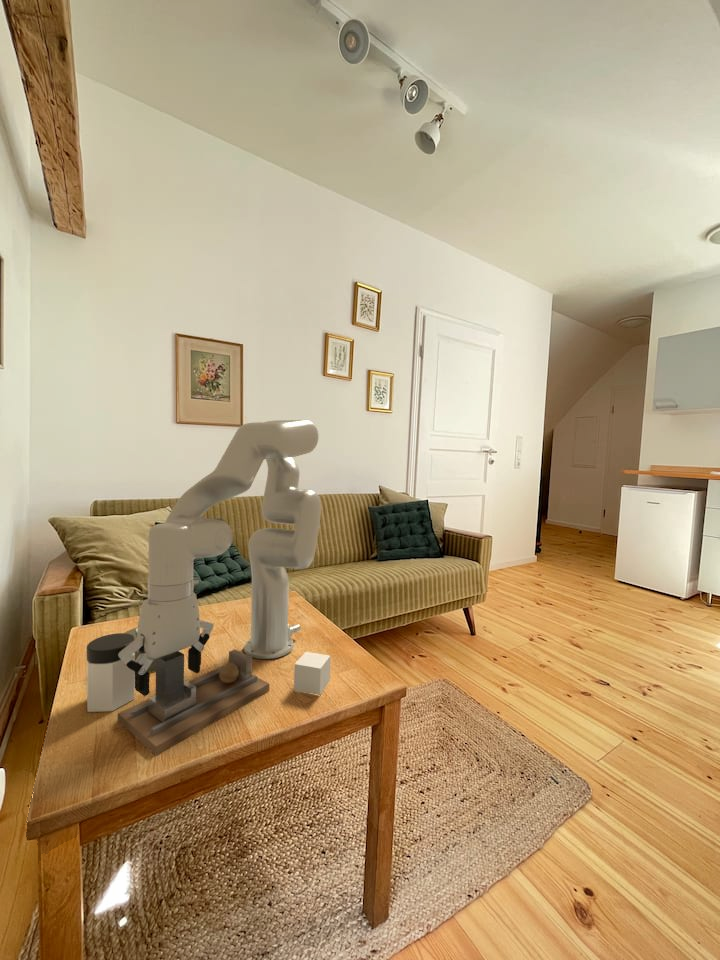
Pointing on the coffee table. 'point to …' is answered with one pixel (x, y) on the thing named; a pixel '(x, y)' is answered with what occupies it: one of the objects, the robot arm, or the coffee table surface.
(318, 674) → the white cube
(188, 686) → the handle
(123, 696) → the jar
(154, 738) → the board
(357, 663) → the coffee table surface
